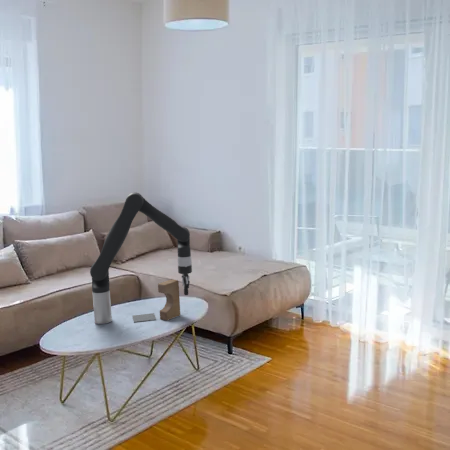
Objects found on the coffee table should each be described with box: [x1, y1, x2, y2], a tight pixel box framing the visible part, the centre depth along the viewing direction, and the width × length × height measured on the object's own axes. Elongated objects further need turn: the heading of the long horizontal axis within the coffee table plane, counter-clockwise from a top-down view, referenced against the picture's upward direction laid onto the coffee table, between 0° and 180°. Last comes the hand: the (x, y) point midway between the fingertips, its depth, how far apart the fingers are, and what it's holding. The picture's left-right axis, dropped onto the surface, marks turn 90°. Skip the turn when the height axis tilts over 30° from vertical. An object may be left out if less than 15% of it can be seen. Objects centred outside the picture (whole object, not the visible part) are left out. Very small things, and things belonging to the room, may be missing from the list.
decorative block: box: [157, 279, 181, 321], centre depth 325 cm, size 11×6×20 cm, turn 139°
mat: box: [132, 312, 157, 324], centre depth 327 cm, size 12×11×1 cm
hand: (186, 294), depth 326 cm, fingers closed
